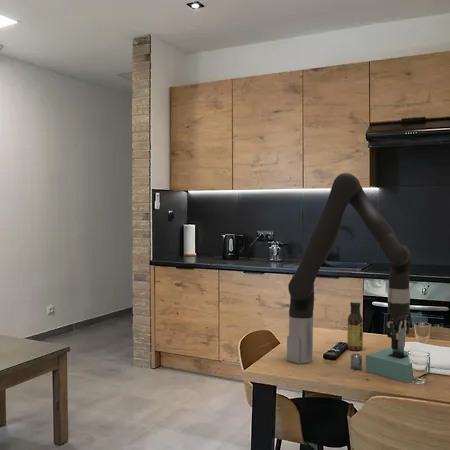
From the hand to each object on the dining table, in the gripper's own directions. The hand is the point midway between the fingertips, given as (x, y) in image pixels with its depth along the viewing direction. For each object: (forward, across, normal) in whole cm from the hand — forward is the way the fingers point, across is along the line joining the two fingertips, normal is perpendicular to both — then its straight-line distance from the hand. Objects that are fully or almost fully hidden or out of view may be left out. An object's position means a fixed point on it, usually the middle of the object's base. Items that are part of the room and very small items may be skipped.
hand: (398, 347), depth 183 cm
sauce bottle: (+9, -14, -28) cm, 33 cm away
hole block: (+9, 0, 0) cm, 9 cm away
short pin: (+9, +8, -12) cm, 17 cm away
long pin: (+4, 0, 0) cm, 4 cm away
